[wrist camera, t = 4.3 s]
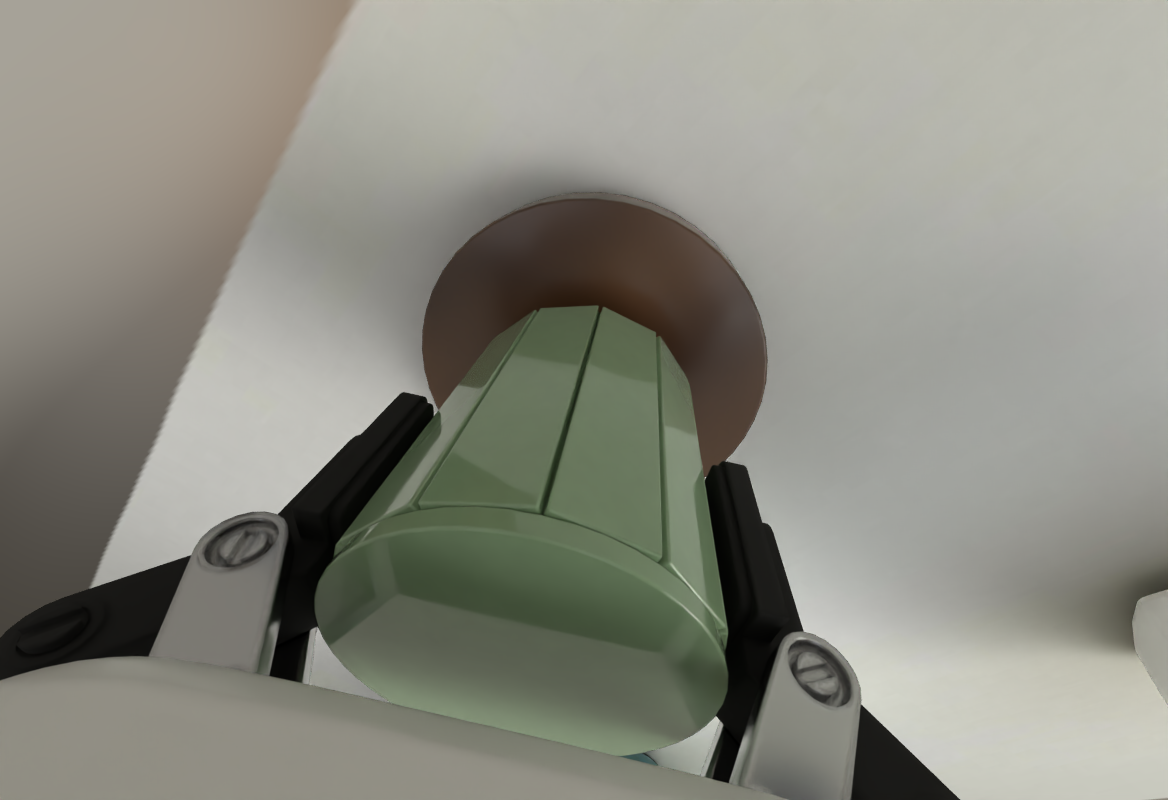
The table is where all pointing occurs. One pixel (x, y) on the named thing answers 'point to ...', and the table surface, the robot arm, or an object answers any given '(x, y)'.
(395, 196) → the table surface
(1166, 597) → the bowl
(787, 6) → the table surface
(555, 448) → the green cup
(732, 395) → the disc
